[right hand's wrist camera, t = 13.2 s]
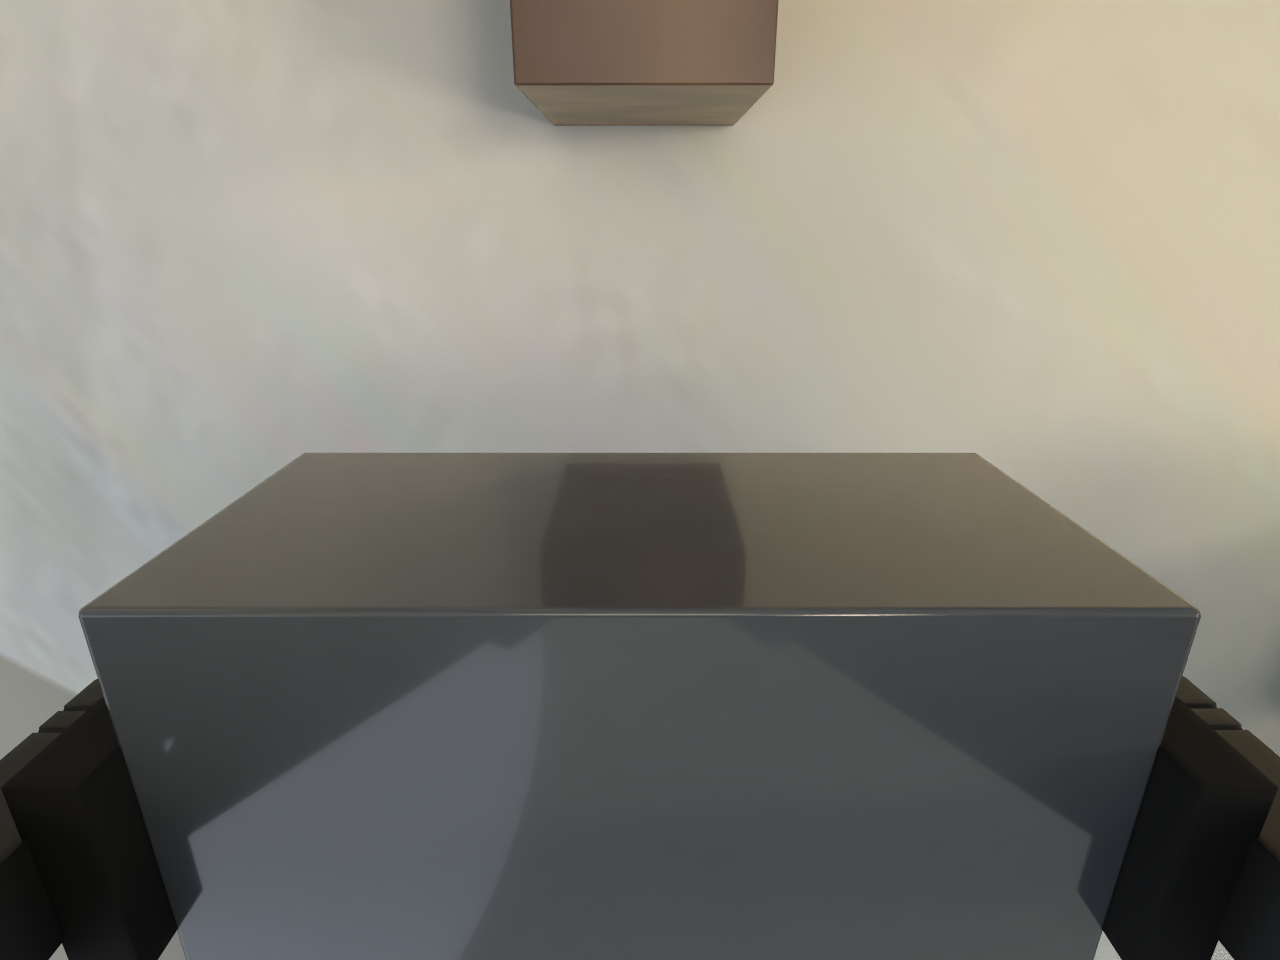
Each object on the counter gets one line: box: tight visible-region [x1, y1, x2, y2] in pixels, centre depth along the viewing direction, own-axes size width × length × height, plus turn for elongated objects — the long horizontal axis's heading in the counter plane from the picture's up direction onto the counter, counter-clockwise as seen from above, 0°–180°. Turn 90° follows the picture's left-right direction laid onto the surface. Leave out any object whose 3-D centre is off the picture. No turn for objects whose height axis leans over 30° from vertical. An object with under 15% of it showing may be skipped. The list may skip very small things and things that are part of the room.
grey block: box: [79, 453, 1201, 960], centre depth 10 cm, size 11×6×5 cm, turn 90°
